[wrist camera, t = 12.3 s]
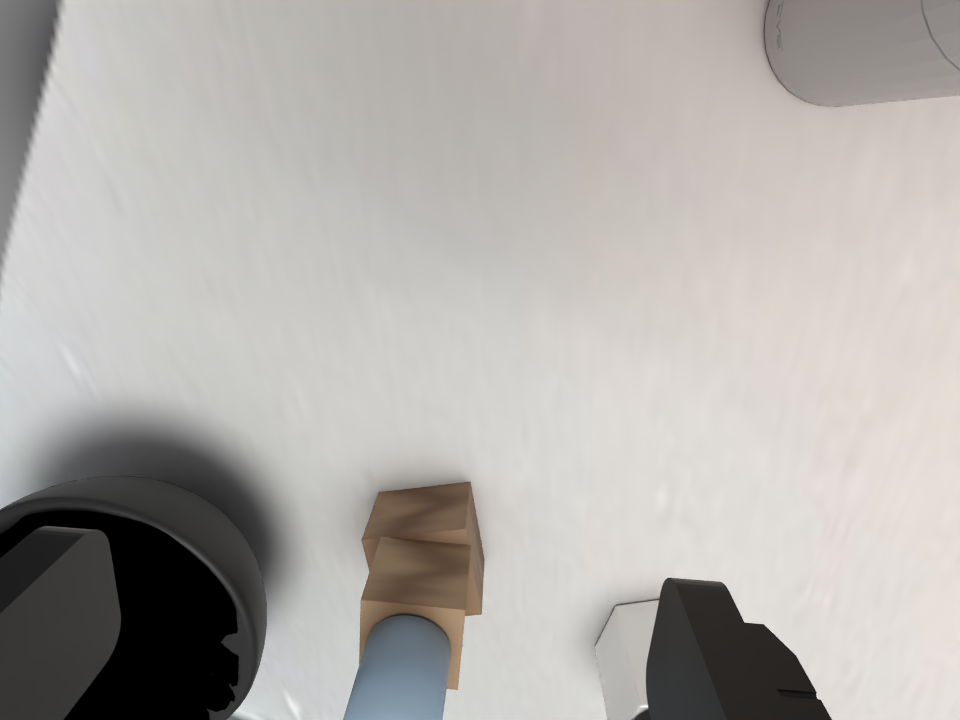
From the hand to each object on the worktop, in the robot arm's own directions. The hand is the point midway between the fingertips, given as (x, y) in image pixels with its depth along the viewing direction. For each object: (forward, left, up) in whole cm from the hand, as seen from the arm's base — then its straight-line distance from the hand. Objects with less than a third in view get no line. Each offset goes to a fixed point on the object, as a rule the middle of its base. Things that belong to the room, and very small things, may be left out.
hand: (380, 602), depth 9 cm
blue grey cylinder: (+2, +22, -21) cm, 31 cm away
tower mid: (+2, +22, -27) cm, 35 cm away
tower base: (+2, +22, -33) cm, 40 cm away
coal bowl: (+22, +25, -33) cm, 47 cm away
